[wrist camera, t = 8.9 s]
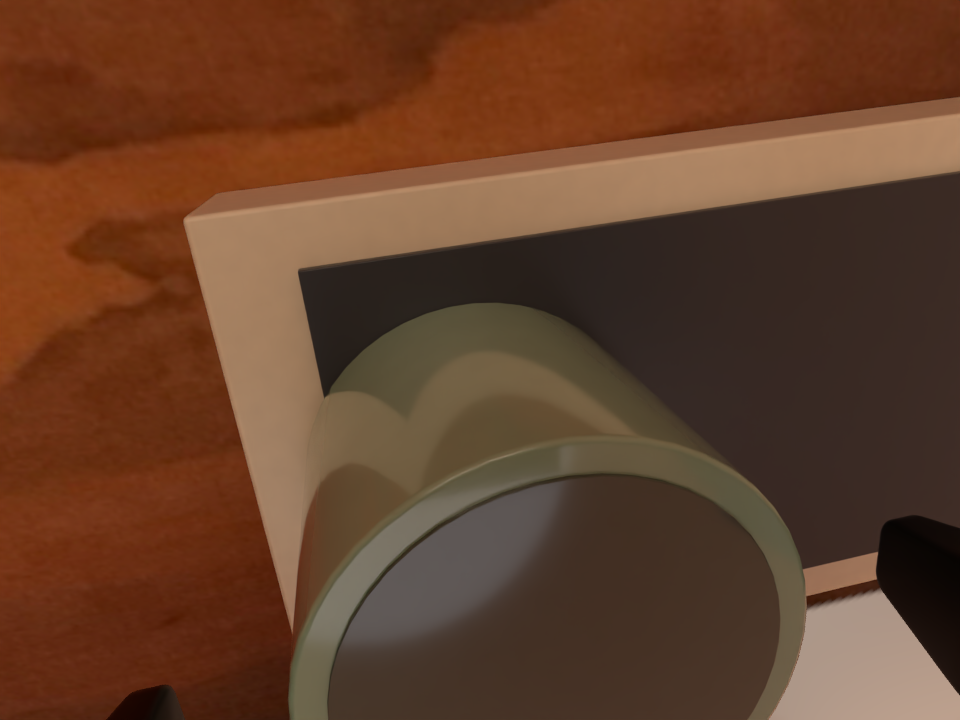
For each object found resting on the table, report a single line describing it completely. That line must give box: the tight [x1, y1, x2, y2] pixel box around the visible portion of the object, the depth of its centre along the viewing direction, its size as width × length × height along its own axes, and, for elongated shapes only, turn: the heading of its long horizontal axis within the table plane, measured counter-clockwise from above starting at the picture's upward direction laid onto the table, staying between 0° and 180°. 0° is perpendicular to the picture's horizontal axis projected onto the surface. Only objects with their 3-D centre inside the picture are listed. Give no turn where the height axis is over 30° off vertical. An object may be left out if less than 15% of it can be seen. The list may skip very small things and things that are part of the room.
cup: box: [288, 303, 807, 720], centre depth 10 cm, size 6×6×5 cm
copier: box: [183, 97, 960, 634], centre depth 14 cm, size 20×10×4 cm, turn 96°
